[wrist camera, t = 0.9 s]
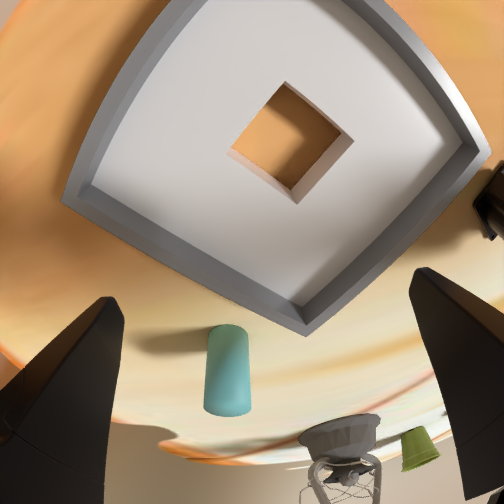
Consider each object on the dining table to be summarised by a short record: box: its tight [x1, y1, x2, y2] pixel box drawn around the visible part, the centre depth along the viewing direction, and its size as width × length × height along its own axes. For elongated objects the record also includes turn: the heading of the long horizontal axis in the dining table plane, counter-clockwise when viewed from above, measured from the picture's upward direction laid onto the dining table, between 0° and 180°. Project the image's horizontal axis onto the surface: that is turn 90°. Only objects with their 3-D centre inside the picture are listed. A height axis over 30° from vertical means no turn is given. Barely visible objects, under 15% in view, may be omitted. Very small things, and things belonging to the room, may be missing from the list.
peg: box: [203, 325, 251, 417], centre depth 25 cm, size 4×4×8 cm
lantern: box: [298, 413, 382, 504], centre depth 36 cm, size 18×20×30 cm
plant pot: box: [401, 426, 441, 472], centre depth 53 cm, size 12×12×11 cm
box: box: [60, 0, 492, 337], centre depth 16 cm, size 20×20×4 cm
